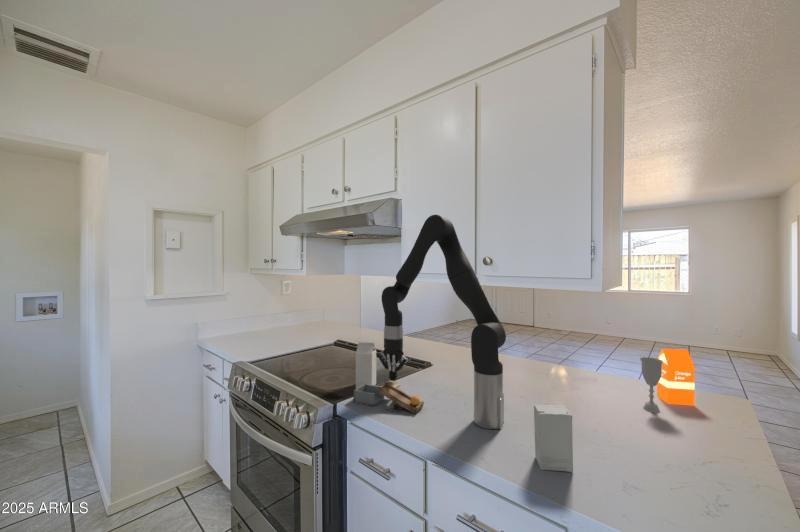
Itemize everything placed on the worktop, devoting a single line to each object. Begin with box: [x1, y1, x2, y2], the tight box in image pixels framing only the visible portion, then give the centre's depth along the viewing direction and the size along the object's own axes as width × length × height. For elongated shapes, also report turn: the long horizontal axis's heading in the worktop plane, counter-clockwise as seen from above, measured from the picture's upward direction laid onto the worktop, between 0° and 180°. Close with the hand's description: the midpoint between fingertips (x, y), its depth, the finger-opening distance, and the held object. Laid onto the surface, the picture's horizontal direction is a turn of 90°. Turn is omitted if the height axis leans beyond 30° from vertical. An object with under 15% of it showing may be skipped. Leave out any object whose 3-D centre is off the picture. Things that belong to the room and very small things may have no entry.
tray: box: [352, 384, 385, 407], centre depth 128 cm, size 9×8×4 cm
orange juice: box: [656, 348, 696, 407], centre depth 129 cm, size 8×9×20 cm
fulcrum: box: [384, 401, 404, 413], centre depth 123 cm, size 5×9×3 cm, turn 154°
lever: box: [377, 379, 425, 414], centre depth 125 cm, size 17×12×2 cm
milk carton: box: [355, 341, 377, 389], centre depth 143 cm, size 7×7×19 cm
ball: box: [410, 395, 421, 406], centre depth 120 cm, size 4×4×4 cm
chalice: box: [639, 356, 663, 414], centre depth 120 cm, size 7×7×18 cm
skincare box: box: [533, 404, 574, 473], centre depth 87 cm, size 8×6×15 cm
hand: (393, 380), depth 131 cm, fingers closed
